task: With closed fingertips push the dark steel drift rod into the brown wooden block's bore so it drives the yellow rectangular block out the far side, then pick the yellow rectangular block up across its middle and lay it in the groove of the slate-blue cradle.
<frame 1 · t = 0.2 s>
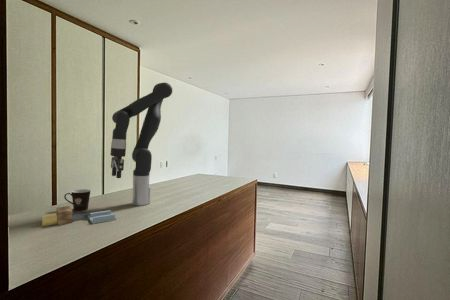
hand: (116, 176, 132), 17 cm above the counter, tool pointing down, fingers open, 8 cm apart
yellow rectangular block: (53, 223, 107), on the counter
drift: (76, 219, 112), on the counter
coffee mug: (78, 209, 128), on the counter
brown wooden block: (64, 221, 109), on the counter
cradle: (102, 219, 114), on the counter
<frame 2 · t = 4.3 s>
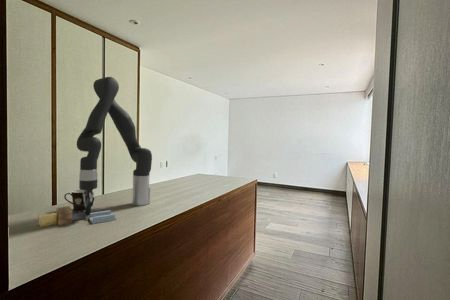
hand: (88, 214, 115), 2 cm above the counter, tool pointing down, fingers closed
drift: (73, 219, 112), on the counter, touching gripper
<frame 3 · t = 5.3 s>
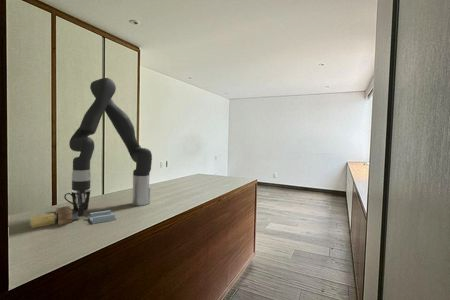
hand: (80, 215, 113), 1 cm above the counter, tool pointing down, fingers closed
yellow rectangular block: (42, 225, 104), on the counter
drift: (65, 221, 110), on the counter, touching gripper
everything else where it was.
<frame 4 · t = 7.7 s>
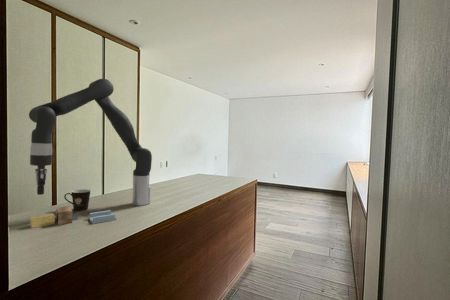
hand: (40, 194, 103), 14 cm above the counter, tool pointing down, fingers closed
drift: (65, 221, 110), on the counter
everything else where it was.
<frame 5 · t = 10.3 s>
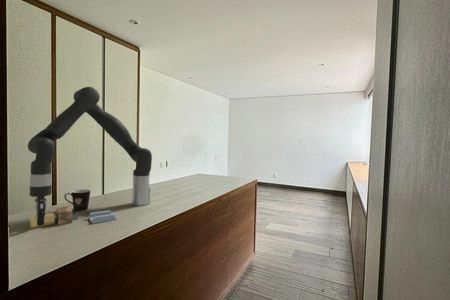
hand: (40, 223, 104), 1 cm above the counter, tool pointing down, fingers closed on yellow rectangular block, 4 cm apart
yellow rectangular block: (42, 224, 104), on the counter, touching gripper
everything else where it was.
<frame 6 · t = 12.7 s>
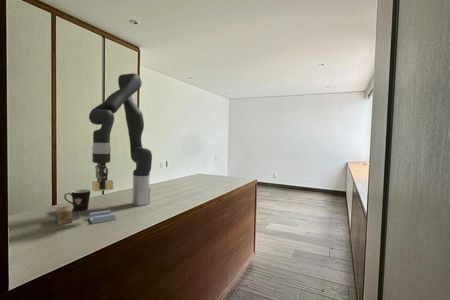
hand: (101, 188, 114), 15 cm above the counter, tool pointing down, fingers closed on yellow rectangular block, 4 cm apart
yellow rectangular block: (102, 189, 114), point 14 cm above the counter, touching gripper
when the fingers open (3 cm above the counter, at t = 15.5 s): yellow rectangular block drops 2 cm, resting on cradle.
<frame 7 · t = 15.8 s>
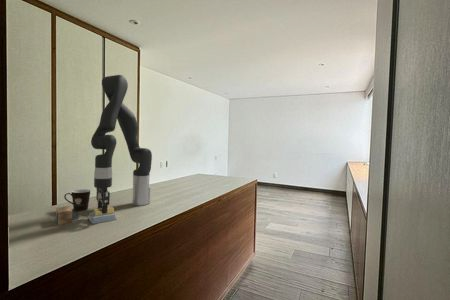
hand: (102, 211, 114), 4 cm above the counter, tool pointing down, fingers open, 7 cm apart
yellow rectangular block: (103, 216, 114), point 1 cm above the counter, touching cradle
everything else where it was.
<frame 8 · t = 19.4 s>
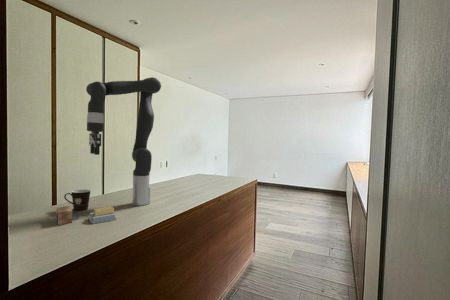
hand: (94, 154, 122), 30 cm above the counter, tool pointing down, fingers open, 8 cm apart
nothing on the counter moved.
at the end: yellow rectangular block inside the target area on the cradle (0.6 cm from its centre), point 1.0 cm above the cradle's base; the gripper is holding nothing; drift inside the target area (1.4 cm from its centre), on the counter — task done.
